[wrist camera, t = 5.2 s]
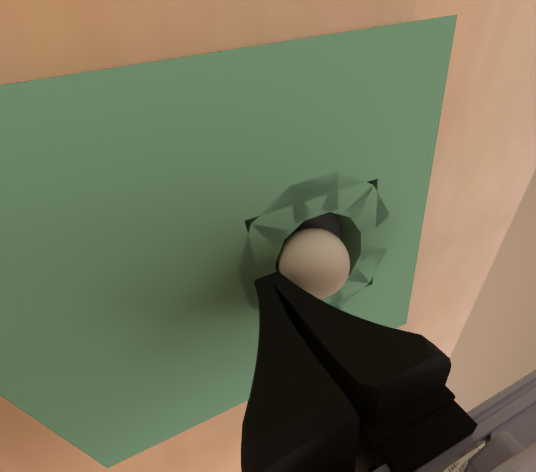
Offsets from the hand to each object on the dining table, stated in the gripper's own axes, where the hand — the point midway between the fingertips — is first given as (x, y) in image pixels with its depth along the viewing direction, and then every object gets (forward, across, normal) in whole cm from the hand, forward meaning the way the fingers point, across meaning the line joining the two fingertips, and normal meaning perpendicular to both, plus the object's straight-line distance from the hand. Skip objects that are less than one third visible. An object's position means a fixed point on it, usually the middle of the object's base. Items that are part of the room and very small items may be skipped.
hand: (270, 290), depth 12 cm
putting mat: (+3, +1, 0) cm, 3 cm away
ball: (+1, -3, 0) cm, 3 cm away
